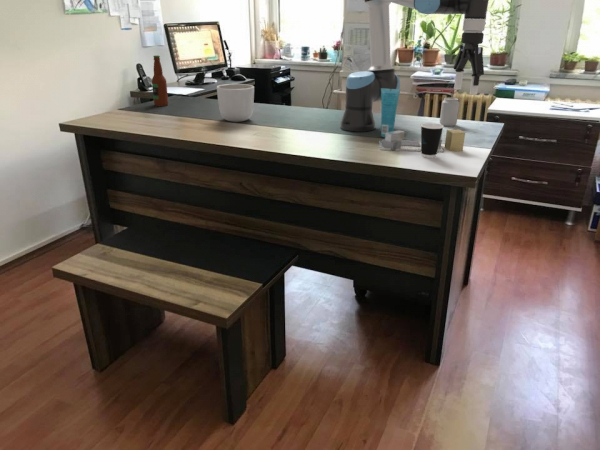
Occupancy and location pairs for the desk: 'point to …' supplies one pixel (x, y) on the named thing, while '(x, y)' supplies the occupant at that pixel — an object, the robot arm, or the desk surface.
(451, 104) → the can
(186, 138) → the desk surface
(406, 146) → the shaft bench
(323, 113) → the desk surface
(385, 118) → the tube
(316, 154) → the desk surface
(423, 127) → the dixie cup
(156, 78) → the bottle
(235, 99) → the planter
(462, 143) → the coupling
